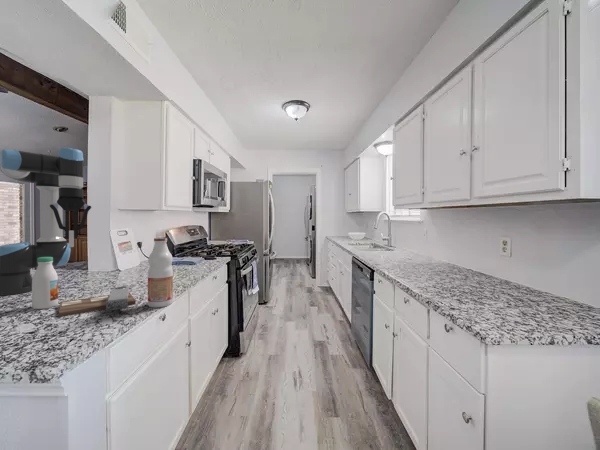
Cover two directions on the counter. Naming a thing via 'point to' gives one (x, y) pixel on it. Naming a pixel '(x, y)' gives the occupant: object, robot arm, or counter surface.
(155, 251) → the fruit juice
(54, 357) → the counter surface
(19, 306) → the counter surface
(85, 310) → the label board
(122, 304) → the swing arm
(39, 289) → the milk bottle
